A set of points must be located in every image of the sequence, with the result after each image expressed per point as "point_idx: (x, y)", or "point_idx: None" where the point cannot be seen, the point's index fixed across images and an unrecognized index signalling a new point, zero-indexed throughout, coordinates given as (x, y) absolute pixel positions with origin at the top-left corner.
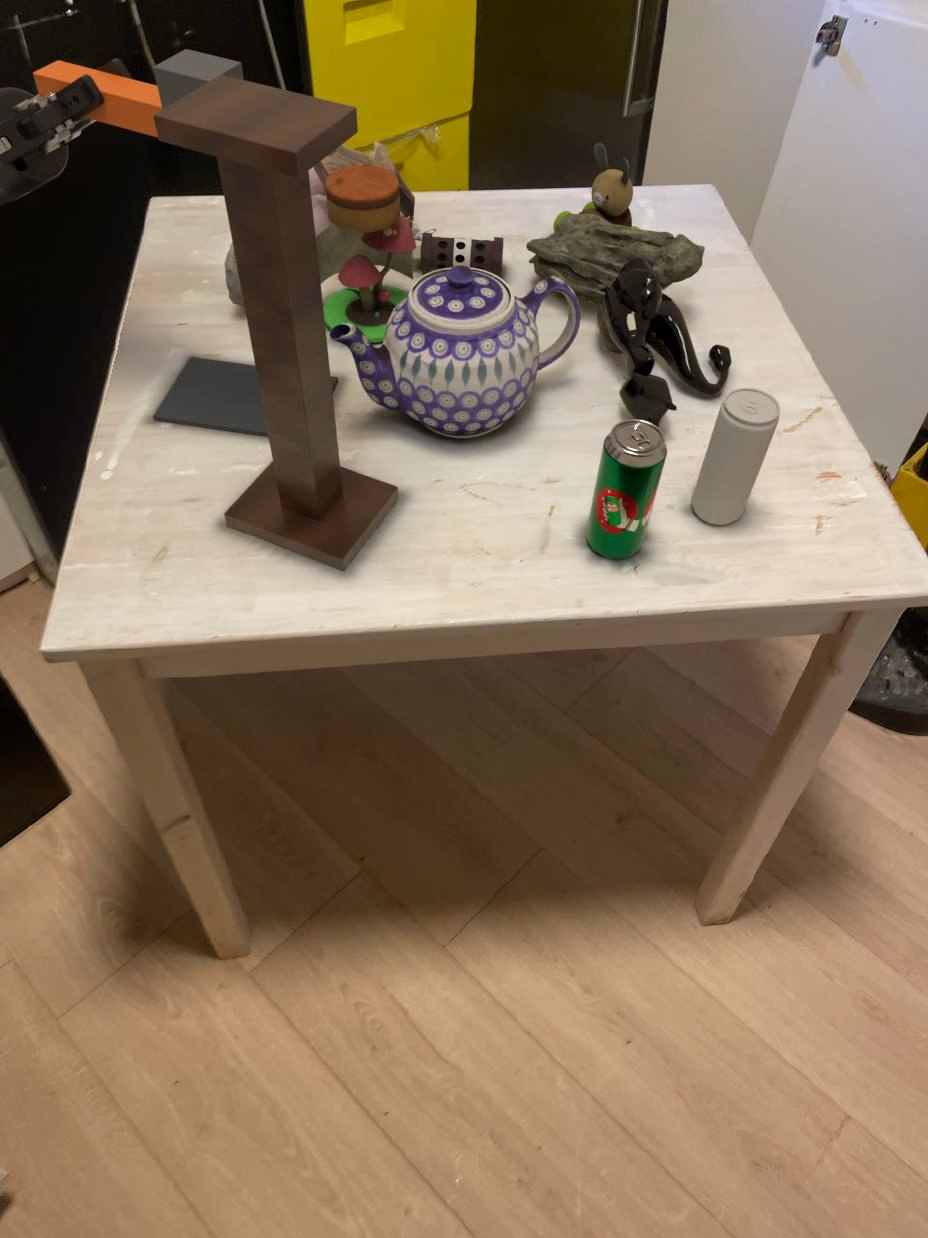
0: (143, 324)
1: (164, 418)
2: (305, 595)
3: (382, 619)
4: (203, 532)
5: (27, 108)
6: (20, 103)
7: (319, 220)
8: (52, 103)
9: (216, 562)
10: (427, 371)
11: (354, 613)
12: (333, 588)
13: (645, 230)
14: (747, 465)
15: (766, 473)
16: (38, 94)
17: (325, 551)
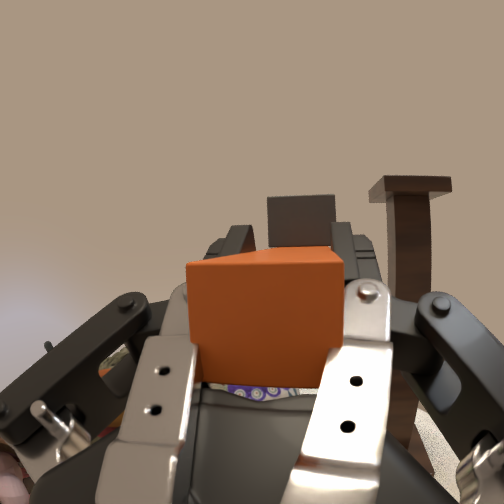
0: None
1: None
2: (438, 434)
3: (423, 412)
4: (446, 486)
5: (457, 303)
6: (354, 474)
7: (17, 485)
8: (391, 297)
9: (456, 467)
10: (297, 388)
11: (429, 419)
12: (425, 429)
13: (124, 348)
14: None
15: None
16: (175, 482)
17: (416, 429)
